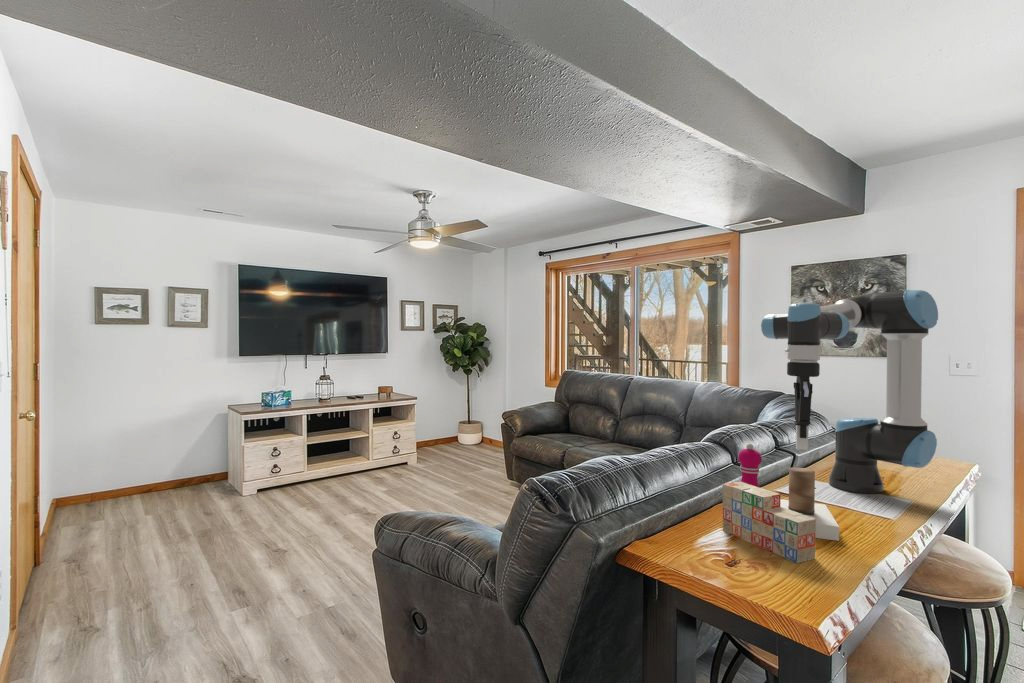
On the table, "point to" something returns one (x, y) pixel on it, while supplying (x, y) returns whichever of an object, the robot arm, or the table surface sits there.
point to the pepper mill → (749, 465)
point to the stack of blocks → (767, 522)
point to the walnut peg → (801, 490)
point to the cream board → (821, 521)
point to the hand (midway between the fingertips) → (801, 449)
